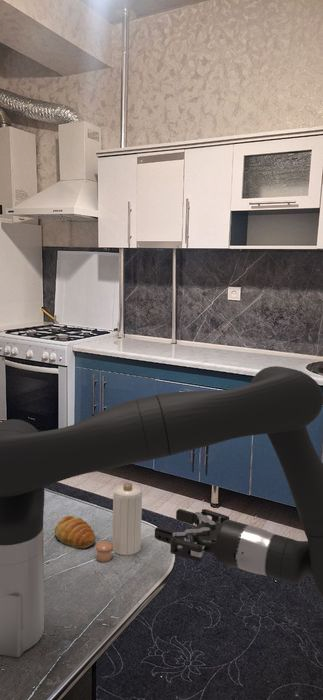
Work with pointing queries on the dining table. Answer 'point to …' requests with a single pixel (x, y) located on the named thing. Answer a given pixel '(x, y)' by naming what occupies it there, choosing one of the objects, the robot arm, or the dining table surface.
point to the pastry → (74, 532)
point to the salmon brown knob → (104, 551)
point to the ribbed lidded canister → (127, 519)
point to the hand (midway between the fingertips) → (166, 522)
